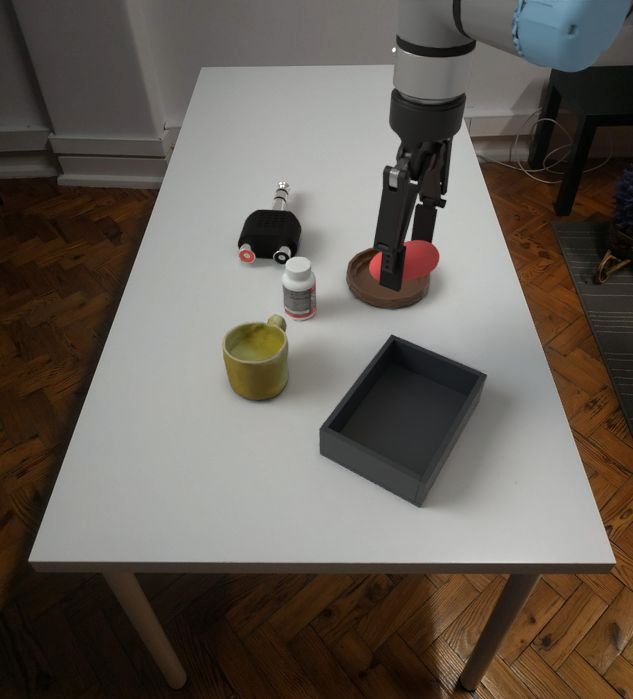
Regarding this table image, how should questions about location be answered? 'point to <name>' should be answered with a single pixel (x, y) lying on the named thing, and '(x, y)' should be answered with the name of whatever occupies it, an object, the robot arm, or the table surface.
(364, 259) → the plate
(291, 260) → the pill bottle
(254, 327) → the mug
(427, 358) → the bin
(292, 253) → the audio adapter
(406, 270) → the stress ball
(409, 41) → the robot arm
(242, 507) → the table surface
